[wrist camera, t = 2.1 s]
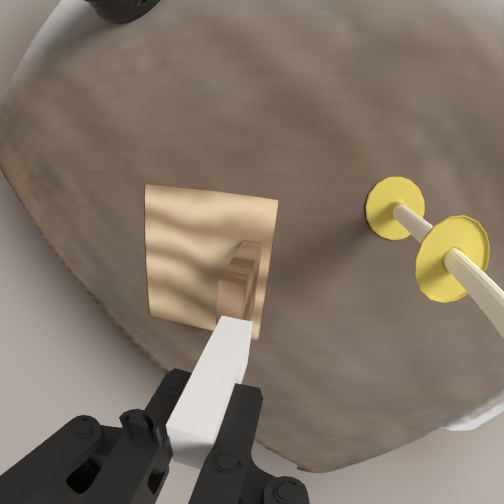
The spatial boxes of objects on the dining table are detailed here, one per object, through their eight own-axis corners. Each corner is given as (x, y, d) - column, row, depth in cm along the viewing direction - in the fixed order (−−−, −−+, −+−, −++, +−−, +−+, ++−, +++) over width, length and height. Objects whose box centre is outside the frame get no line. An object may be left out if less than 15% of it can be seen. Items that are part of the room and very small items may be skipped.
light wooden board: (146, 184, 45) (145, 184, 45) (278, 200, 43) (278, 200, 42) (151, 313, 55) (150, 314, 55) (258, 338, 53) (257, 339, 52)
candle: (434, 213, 39) (606, 373, 4) (389, 252, 42) (496, 472, 8) (400, 162, 37) (625, 264, 3) (351, 204, 41) (471, 430, 7)
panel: (242, 239, 46) (217, 280, 33) (262, 243, 45) (244, 285, 32) (236, 304, 50) (213, 356, 37) (254, 307, 50) (236, 361, 37)
